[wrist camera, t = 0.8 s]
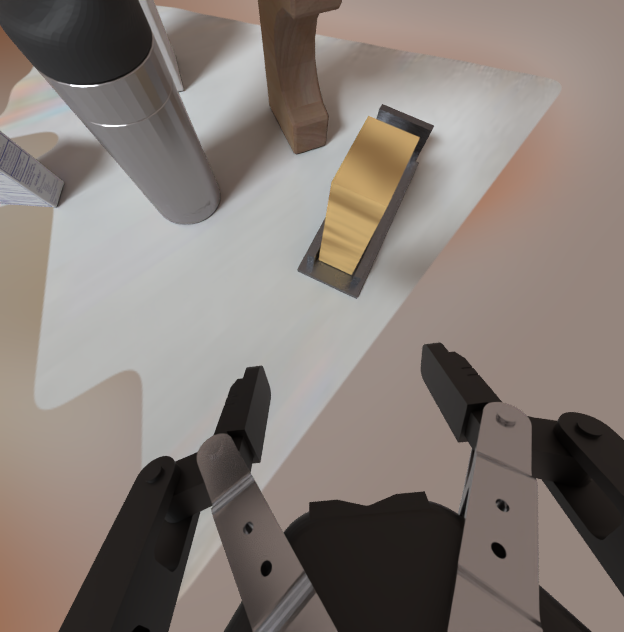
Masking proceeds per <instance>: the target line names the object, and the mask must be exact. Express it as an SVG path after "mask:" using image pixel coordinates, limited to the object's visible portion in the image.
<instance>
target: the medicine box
mask: <svg viewBox="0 0 624 632" xmlns="http://www.w3.org/2000/svg"><path fill="white" fill-rule="evenodd" d="M63 185H64V182H63V181H62V180H61V179H60V178H59V177H57V176H56V175H55V174H53V173H52V172H51V171H50V170H48V169H47V168H46V167H45V166H43V165H42V164H41V163H40V162H39V161H37V160H36V159H35V158H34V157H32V156H31V155H30V154H29V153H27V152H26V151H25V150H24V149H22V148H21V147H20V146H19V145H17V144H16V143H15V142H13V141H12V140H11V139H10V138H9V137H7V136H6V135H5V134H4V133H2V132H1V131H0V204H14V205H29V206H45V207H57V204H58V201H59V198H60V194H61V191H62V188H63Z"/></svg>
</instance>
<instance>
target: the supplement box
mask: <svg viewBox="0 0 624 632" xmlns="http://www.w3.org/2000/svg"><path fill="white" fill-rule="evenodd" d="M139 2H140V5H141V7H142V9H143V11H144V14H145V16H146V18H147V21H148V23H149V25H150V27H151V30H152V32H153V34H154V37H155V39H156V41H157V44H158V46H159V48H160V51H161V53H162V55H163V58H164V60H165V62H166V65H167V67H168V69H169V72H170V74H171V76H172V78H173V81H174V83H175V85H176V88H177V90H178V92H179V91H183V90H184V89H183V85H182V81H181V77H180V73H179V69H178V65H177V60H176V57H175V54H174V51H173V49H172V46H171V44H170V41H169V39H168V36H167V34H166V31H165V28H164V26H163V23H162V21H161V18H160V16H159V13H158V11H157V8H156V6H155V3H154V1H153V0H139Z"/></svg>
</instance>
